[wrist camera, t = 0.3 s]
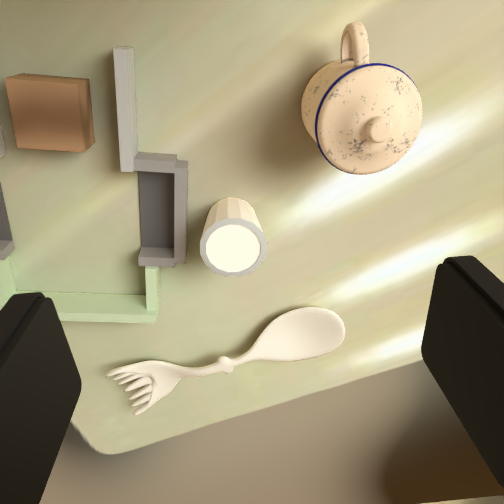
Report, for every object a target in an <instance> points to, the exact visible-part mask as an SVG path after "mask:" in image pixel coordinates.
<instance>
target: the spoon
mask: <svg viewBox="0 0 504 504" xmlns="http://www.w3.org/2000/svg"><path fill="white" fill-rule="evenodd" d="M344 337H345V327H344V324H343V322H342V320H341V318H340V317H339V316H338V315H337V314H336V313H334V312H333V311H331V310H328V309H325V308H319V307H304V308H299V309H295V310H292V311H289V312H287V313H284V314H282V315H280V316H279V317H277V318H276V319H274V320H273V321H272V322H271V323H270V324H269V325H268V326H267V327H266V328H265V329H264V330H263V332H262V333H261V334H260V336H259V337H258V339H257V340H256V341H255V343H254V344H253V346H252V347H251V348H250V349H249V350H248V351H247V352H246V353H244V354H242V355H241V356H238V357H236V358H228V357H226V356H221V357H219V358H218V361H217V362H215V363H213V364H210V365H207V366H204V367H184V366H179V365H175V364H172V363H168V362H164V361H158V360H149V361H143V362H139V363H135V364H130V365H126V366H122V367H118V368H114V369H112V370H110V371H109V372H107V373H106V377H108V376H112V375H115V374H119V373H120V374H119V375H117V376H116V377H114V378H113V379H112V380H118V379H120V378H123V377H126V376H128V377H126V378H124V379H123V380H121V381H120V382H119V383H118V384H117V385H120V384H124V383H126V382H129V381H131V380H134V379H136V378H138V379H137V380H136V381H134V382H133V383H131V384H130V385H128V386H127V387H126V388H125V389H124V391H125V392H127V391H130V390H133V389H136V388H139V387H141V386H144V385H146V386H144V387H143V388H141V389H140V390H139V391H137V392H136V393H134V394H133V395H132V396H130V397H129V398H128V400H131V399H134V398H136V397H139V396H141V395H143V394H145V395H143V396H142V397H140V398H139V399H138V400H136V401H135V402H134V403H132V405H131V407H133V406H136V405H139V404H141V403H144V402H145V403H144V404H143V405H141V406H140V407H138V408H137V409H136V410H135V411H134V412H133V415H138V414H140V413H142V412H143V411H145V410H146V409H148V408H149V407H151V406H152V405H153V404H154V403H156V402H157V401H159V400H160V399H162V398H163V397H165V396H166V395H167V394H169V393H170V392H171V391H172V390H173V388H174V387H175V385H176V384H177V382H178V381H179V380H180V379H182V378H185V377H198V376H204V375H209V374H213V373H217V372H223V373H226V374H228V373H231V372H232V371H233V367H235V366H237V365H240V364H242V363H245V362H248V361H251V360H275V361H298V360H304V359H309V358H314V357H318V356H321V355H324V354H326V353H329V352H331V351H332V350H334V349H335V348H337V347H338V346H339V345H340V344H341V343H342V341H343V340H344ZM139 377H140V378H139Z"/></svg>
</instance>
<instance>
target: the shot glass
mask: <svg viewBox="0 0 504 504" xmlns="http://www.w3.org/2000/svg"><path fill="white" fill-rule="evenodd" d="M266 251H267V242H266V239H265V236H264V234H263V231H262V229H261V226H260V224H259V222H258V219H257V217H256V215H255V212H254V210H253V208H252V207H251V206H250V205H249V204H248V203H247V202H246V201H244V200H242V199H239V198H225V199H222V200H219V201H218V202H217V203H215V204H214V205H213V206H212V207H211V209H210V211H209V213H208V216H207V219H206V223H205V226H204V230H203V233H202V237H201V240H200V255H201V257H202V259H203V261H204V263H205V265H206V266H207V267H209V268H210V269H211V270H212V271H213V272H214V273H217V274H220V275H223V276H225V277H240V276H243V275H246V274H249V273H251V272H253V271H254V270H255V269H256V268H258V267H259V266H260V265H261V263H262V262H263V260H264V258H265V256H266Z"/></svg>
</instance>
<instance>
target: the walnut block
mask: <svg viewBox="0 0 504 504" xmlns="http://www.w3.org/2000/svg"><path fill="white" fill-rule="evenodd" d="M4 79H5V84H6V89H7V95H8V100H9V106H10V111H11V117H12V122H13V127H14V133H15V138H16V144H17V148H29V149H43V150H58V151H72V152H85V151H86V150H87V149H88V148H89V147H90V146H91V145H92V144H93V143H94V142H95V139H94V128H93V117H92V106H91V95H90V84H89V79H81V78H70V77H59V76H48V75H36V74H25V73H22V74H18V75H15V76H11V77H7V78H4Z"/></svg>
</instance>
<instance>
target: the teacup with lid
mask: <svg viewBox="0 0 504 504" xmlns="http://www.w3.org/2000/svg"><path fill="white" fill-rule="evenodd" d="M301 114H302V119H303V123H304V126H305V128H306V130H307V131H308V133H309V134H310V135H311V137H312V138H313V139H314V140H315V142H316V143H317V144H318V147H319V149H320V151H321V153H322V155H323V156H324V157H325V159H326V160H327V161H328V162H329V163H330V164H331V165H333V166H334V167H336V168H337V169H339V170H341V171H344V172H346V173H350V174H359V175H362V174H372V173H376V172H379V171H382V170H384V169H386V168H388V167H390V166H392V165H393V164H395V163H396V162H397V161H399V160H400V159H401V158H402V157H403V156H404V155H405V154H406V153H407V151H408V150H409V149H410V148H411V146H412V145H413V143H414V141H415V139H416V137H417V135H418V132H419V130H420V126H421V121H422V102H421V98H420V95H419V92H418V89H417V87H416V86H415V84H414V82H413V81H412V80H411V78H410V77H409V76H408V75H407V74H405V73H404V72H403V71H401V70H400V69H398V68H396V67H394V66H391V65H387V64H381V63H372V64H371V63H369V43H368V36H367V32H366V29H365V27H364V25H363V24H362V23H360V22H354V23H350V24H348V25H347V26H346V27H345V29H344V31H343V34H342V38H341V60H337V61H334V62H331V63H329V64H327V65H326V66H324V67H323V68H321V69H320V70H319V71H318V72H317V73H316V74H315V75H314V76H313V77H312V78H311V80H310V81H309V83H308V85H307V86H306V89H305V91H304V94H303V98H302V103H301Z"/></svg>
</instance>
